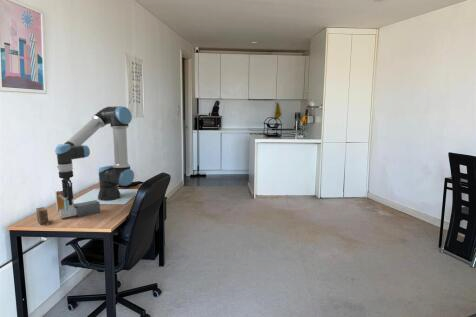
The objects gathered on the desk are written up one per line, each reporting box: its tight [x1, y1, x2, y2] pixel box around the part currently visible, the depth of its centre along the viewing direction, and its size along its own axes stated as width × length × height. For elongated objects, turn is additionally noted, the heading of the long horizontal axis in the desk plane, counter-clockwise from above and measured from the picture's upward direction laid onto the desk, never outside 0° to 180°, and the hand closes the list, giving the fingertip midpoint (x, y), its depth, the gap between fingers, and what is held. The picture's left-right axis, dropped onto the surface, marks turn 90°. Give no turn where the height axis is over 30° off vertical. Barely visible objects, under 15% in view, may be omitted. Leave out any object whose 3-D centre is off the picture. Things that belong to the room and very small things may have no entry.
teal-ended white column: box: [58, 200, 78, 218], centre depth 210 cm, size 19×5×9 cm, turn 130°
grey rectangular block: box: [74, 199, 101, 218], centre depth 213 cm, size 13×7×7 cm, turn 130°
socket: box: [35, 206, 49, 226], centre depth 198 cm, size 4×8×8 cm, turn 40°
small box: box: [54, 188, 65, 212], centre depth 223 cm, size 8×6×13 cm
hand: (69, 209), depth 207 cm, fingers closed on teal-ended white column, 5 cm apart
